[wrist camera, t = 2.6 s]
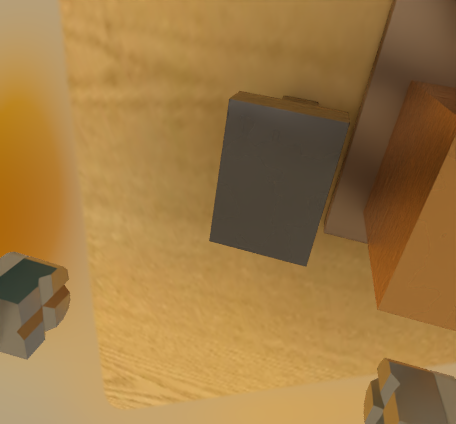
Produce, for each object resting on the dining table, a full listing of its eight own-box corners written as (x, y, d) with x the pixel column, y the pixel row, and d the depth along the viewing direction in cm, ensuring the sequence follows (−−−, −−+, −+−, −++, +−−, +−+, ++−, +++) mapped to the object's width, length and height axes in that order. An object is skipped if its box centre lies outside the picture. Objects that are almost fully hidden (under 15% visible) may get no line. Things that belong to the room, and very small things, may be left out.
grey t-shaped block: (270, 68, 26) (229, 98, 16) (343, 81, 25) (349, 123, 15) (252, 165, 29) (209, 240, 19) (316, 180, 28) (306, 266, 19)
